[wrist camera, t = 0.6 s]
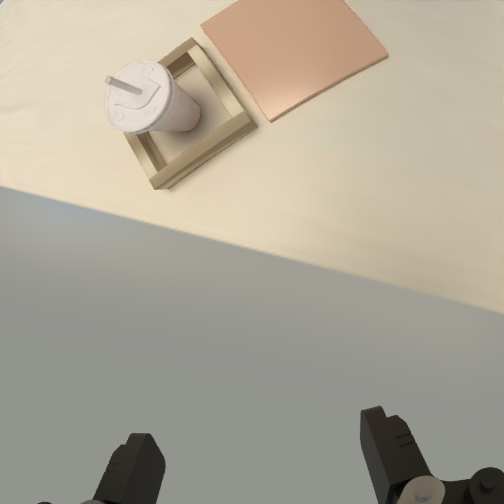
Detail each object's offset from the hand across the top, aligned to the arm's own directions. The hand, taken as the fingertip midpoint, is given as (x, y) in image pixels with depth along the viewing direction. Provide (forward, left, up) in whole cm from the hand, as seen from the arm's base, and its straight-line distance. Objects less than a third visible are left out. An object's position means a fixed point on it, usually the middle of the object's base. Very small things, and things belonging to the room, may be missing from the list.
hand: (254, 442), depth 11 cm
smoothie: (-21, -2, -23) cm, 31 cm away
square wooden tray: (-21, -2, -23) cm, 31 cm away
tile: (-22, +12, -23) cm, 34 cm away
